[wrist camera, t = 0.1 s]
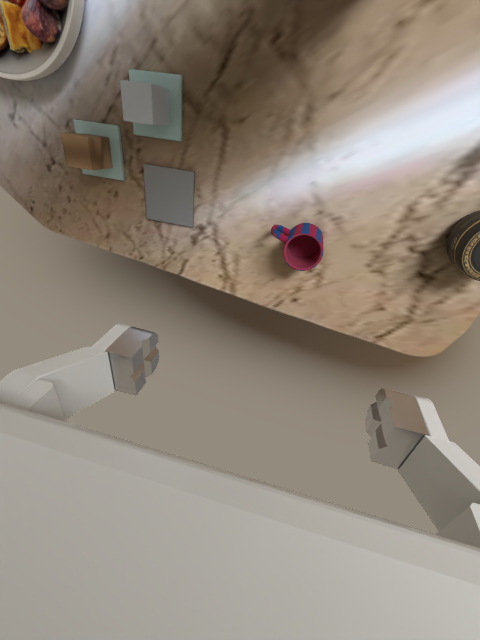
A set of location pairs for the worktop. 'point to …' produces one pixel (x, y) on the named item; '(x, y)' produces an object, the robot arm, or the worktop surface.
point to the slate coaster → (169, 194)
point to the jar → (466, 245)
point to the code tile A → (115, 146)
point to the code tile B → (175, 104)
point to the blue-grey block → (145, 103)
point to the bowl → (37, 36)
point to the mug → (301, 245)
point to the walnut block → (87, 151)
